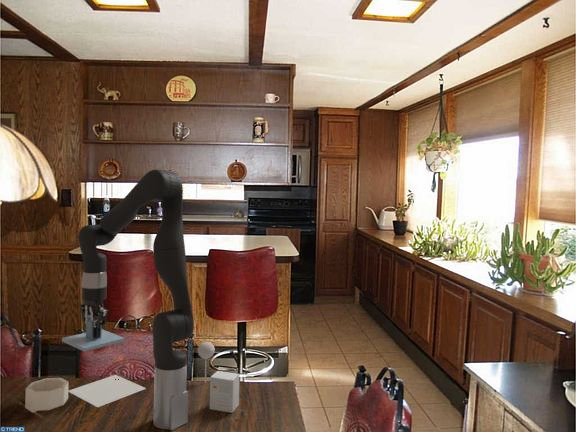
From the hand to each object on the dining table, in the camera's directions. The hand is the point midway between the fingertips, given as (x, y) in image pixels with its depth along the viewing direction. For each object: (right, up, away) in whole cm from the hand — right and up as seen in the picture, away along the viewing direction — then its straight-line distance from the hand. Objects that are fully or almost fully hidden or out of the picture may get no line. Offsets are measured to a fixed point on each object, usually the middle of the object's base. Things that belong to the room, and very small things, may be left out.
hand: (93, 336), depth 148 cm
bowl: (-11, -19, -7) cm, 24 cm away
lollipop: (+35, -20, +13) cm, 42 cm away
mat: (+3, -19, +3) cm, 20 cm away
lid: (0, -2, 0) cm, 2 cm away
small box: (+44, -22, -5) cm, 49 cm away
